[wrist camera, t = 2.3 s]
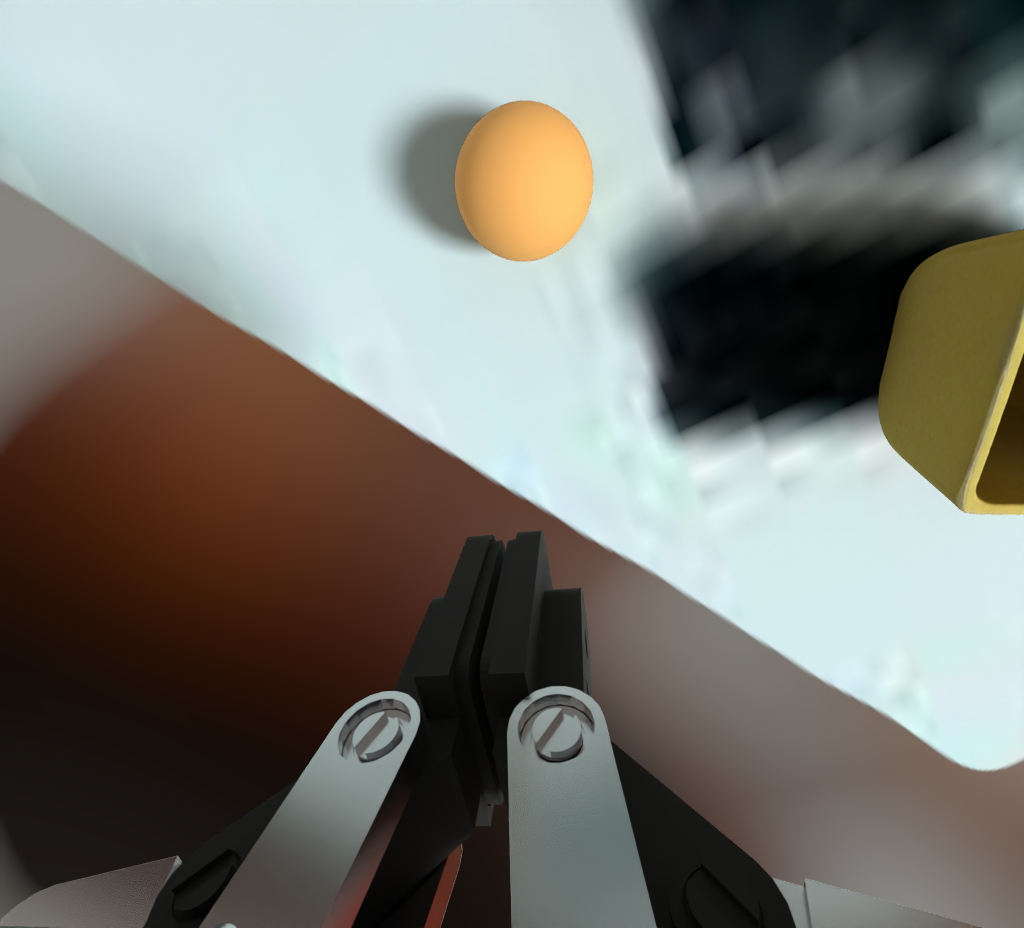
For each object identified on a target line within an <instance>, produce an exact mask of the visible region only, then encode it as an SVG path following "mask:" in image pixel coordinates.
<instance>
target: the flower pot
mask: <svg viewBox="0 0 1024 928" xmlns="http://www.w3.org/2000/svg"><path fill="white" fill-rule="evenodd" d="M878 411H879V419H880V424H881V427H882V430H883V433H884V435H885V437H886V439H887V440H888V442H889V443H890V445H891V446H892V448H893V449H894V450H895V451H896V452H897V453H898V454H899V455H900V456H901V457H902V458H903V459H904V460H905V461H906V462H908V463H909V464H910V465H911V466H912V467H913V468H914V469H915V470H916V471H918V472H919V473H920V474H921V475H922V476H923V477H924V478H926V479H927V480H928V481H929V482H930V483H931V484H932V485H933V486H935V487H936V488H937V489H938V490H939V491H940V492H941V493H942V494H944V495H945V496H946V497H947V498H948V499H949V500H950V501H952V502H953V503H954V504H955V505H956V506H957V507H958V508H959V509H960V510H961V511H963V512H965V513H971V514H992V515H1022V514H1023V515H1024V229H1023V230H1019V231H1014V232H1009V233H1005V234H1000V235H996V236H992V237H987V238H983V239H978V240H974V241H970V242H965V243H962V244H958V245H955V246H952V247H949V248H947V249H944V250H942V251H940V252H938V253H936V254H934V255H932V256H931V257H929V258H928V259H926V260H925V261H924V262H923V263H921V264H920V265H919V266H918V267H917V268H916V269H915V270H914V272H913V273H912V274H911V276H910V277H909V279H908V281H907V283H906V285H905V287H904V289H903V291H902V292H901V295H900V299H899V304H898V308H897V313H896V317H895V321H894V326H893V331H892V336H891V340H890V344H889V348H888V352H887V357H886V361H885V365H884V369H883V374H882V377H881V381H880V387H879V400H878Z"/></svg>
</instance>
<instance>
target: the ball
mask: <svg viewBox="0 0 1024 928" xmlns="http://www.w3.org/2000/svg"><path fill="white" fill-rule="evenodd" d="M455 192H456V199H457V203H458V207H459V211H460V213H461V216H462V219H463V221H464V223H465V225H466V227H467V228H468V230H469V231H470V233H471V234H472V235H473V237H474V238H475V239H476V240H477V241H478V242H479V243H480V244H481V245H482V246H483V247H484V248H486V249H487V250H489V251H490V252H492V253H493V254H495V255H498V256H500V257H502V258H505V259H508V260H513V261H534V260H538V259H542V258H544V257H547V256H549V255H551V254H553V253H555V252H556V251H558V250H559V249H561V248H562V247H563V246H565V245H566V244H567V243H568V242H569V241H570V240H571V239H572V238H573V236H574V235H575V234H576V233H577V231H578V230H579V228H580V226H581V225H582V223H583V221H584V219H585V217H586V215H587V212H588V209H589V206H590V203H591V198H592V192H593V170H592V163H591V158H590V155H589V151H588V148H587V146H586V144H585V141H584V139H583V137H582V136H581V134H580V132H579V131H578V129H577V128H576V127H575V125H574V124H573V123H572V122H571V121H570V120H569V119H568V118H567V117H566V116H565V115H563V114H562V113H561V112H559V111H558V110H556V109H554V108H552V107H550V106H548V105H545V104H542V103H539V102H534V101H516V102H510V103H507V104H504V105H501V106H499V107H497V108H495V109H493V110H492V111H490V112H489V113H488V114H486V115H485V116H484V117H483V118H482V119H480V120H479V121H478V122H477V123H476V125H475V126H474V127H473V128H472V130H471V131H470V133H469V134H468V136H467V137H466V139H465V141H464V143H463V145H462V148H461V150H460V153H459V156H458V160H457V165H456V172H455Z"/></svg>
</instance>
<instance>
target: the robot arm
mask: <svg viewBox="0 0 1024 928" xmlns="http://www.w3.org/2000/svg"><path fill="white" fill-rule="evenodd" d="M503 800H505V804H506V808H507V812H508V816H509V830H510V871H511V912H512V928H982V927H978V926H975V925H971V924H968V923H964V922H960V921H957V920H953V919H949V918H946V917H942V916H939V915H935V914H932V913H928V912H924V911H921V910H917V909H914V908H910V907H906V906H903V905H899V904H896V903H892V902H889V901H885V900H881V899H878V898H874V897H871V896H867V895H863V894H860V893H856V892H853V891H848V890H845V889H842V888H838V887H834V886H831V885H827V884H824V883H820V882H817V881H812V880H809V879H804V887H803V886H799V885H796V884H792V883H789V882H785V881H782V880H778V879H775V878H771V877H770V876H769V875H768V873H767V872H766V871H765V870H764V869H763V868H762V867H761V866H760V865H759V864H758V863H757V862H756V861H755V860H754V859H753V858H751V857H750V856H749V855H748V854H746V853H745V852H744V851H743V850H742V849H740V848H739V847H738V846H737V845H736V844H734V843H733V842H732V841H731V840H730V839H728V838H727V837H726V836H725V835H724V834H722V833H721V832H720V831H719V830H718V829H716V828H715V827H714V826H713V825H711V824H710V823H709V822H708V821H707V820H705V819H704V818H703V817H702V816H701V815H700V814H698V813H697V812H696V811H695V810H694V809H692V808H691V807H690V806H689V805H688V804H686V803H685V802H684V801H683V800H682V799H680V798H679V797H678V796H677V795H676V794H674V793H673V792H672V791H671V790H670V789H668V788H667V787H666V786H665V785H664V784H662V783H661V782H660V781H659V780H658V779H656V778H655V777H654V776H653V775H651V774H650V773H649V772H648V771H647V770H645V769H644V768H643V767H642V766H641V765H639V764H638V763H637V762H636V761H635V760H633V759H632V758H631V757H630V756H629V755H627V754H626V753H625V752H624V751H622V750H621V749H620V748H619V747H618V746H617V745H615V744H614V743H613V742H612V741H611V740H610V738H609V734H608V730H607V726H606V721H605V718H604V716H603V713H602V711H601V709H600V707H599V705H598V704H597V703H596V702H595V701H594V700H593V699H592V694H591V673H590V653H589V641H588V630H587V622H586V614H585V606H584V598H583V592H582V588H573V589H559V590H558V589H557V590H553V588H552V581H551V576H550V569H549V563H548V557H547V552H546V545H545V539H544V534H543V531H531V532H519V533H517V536H516V539H514V540H509V541H508V544H507V548H506V552H505V547H504V544H503V541H502V540H501V541H495V538H494V536H493V535H484V536H473V537H468V538H467V540H466V542H465V545H464V547H463V550H462V553H461V555H460V558H459V560H458V563H457V566H456V568H455V571H454V573H453V576H452V579H451V581H450V584H449V586H448V589H447V591H446V594H445V596H444V597H436V598H434V599H433V600H432V602H431V603H430V605H429V608H428V610H427V613H426V615H425V617H424V620H423V622H422V624H421V627H420V629H419V632H418V634H417V636H416V639H415V641H414V644H413V646H412V648H411V650H410V653H409V655H408V658H407V660H406V662H405V665H404V667H403V670H402V672H401V674H400V677H399V679H398V681H397V684H396V686H395V688H394V691H387V692H381V693H378V694H374V695H371V696H369V697H367V698H365V699H363V700H361V701H360V702H358V703H356V704H355V705H354V706H352V707H351V708H350V709H349V710H348V711H346V712H345V713H344V715H343V716H342V717H341V718H340V719H339V721H338V722H337V723H336V724H335V726H334V727H333V729H332V730H331V732H330V733H329V735H328V736H327V738H326V739H325V741H324V742H323V744H322V745H321V747H320V748H319V750H318V751H317V753H316V754H315V756H314V757H313V759H312V760H311V761H310V763H309V764H308V766H307V768H306V769H305V770H304V772H303V773H302V775H301V777H300V778H299V779H297V780H296V781H294V782H293V783H292V784H290V785H289V786H287V787H286V788H284V789H283V790H281V791H280V792H279V793H277V794H276V795H274V796H273V797H271V798H270V799H268V800H267V801H265V802H264V803H263V804H261V805H260V806H258V807H257V808H255V809H254V810H253V811H251V812H250V813H248V814H247V815H245V816H244V817H242V818H241V819H239V820H238V821H236V822H235V823H233V824H232V825H231V826H229V827H228V828H226V829H225V830H223V831H222V832H220V833H219V834H218V835H216V836H215V837H213V838H212V839H210V840H209V841H207V842H206V843H205V844H203V845H202V846H201V847H199V848H198V849H197V850H196V851H195V852H193V853H192V854H191V855H190V856H188V857H187V858H186V859H185V860H184V861H183V862H181V860H180V859H179V857H178V856H175V857H171V858H166V859H162V860H158V861H154V862H150V863H146V864H141V865H137V866H133V867H129V868H125V869H121V870H116V871H112V872H108V873H104V874H100V875H96V876H92V877H87V878H84V879H79V880H75V881H71V882H67V883H62V884H59V885H55V886H52V887H50V888H47V889H45V890H42V891H40V892H37V893H35V894H34V895H32V896H31V897H29V898H28V899H26V900H25V901H24V902H22V903H20V904H19V905H17V906H16V907H14V908H13V909H12V910H11V911H10V912H9V913H8V914H6V915H5V916H4V917H3V918H2V919H1V920H0V928H440V926H441V923H442V920H443V917H444V914H445V910H446V907H447V904H448V901H449V898H450V895H451V891H452V888H453V885H454V882H455V879H456V875H457V872H458V869H459V866H460V860H461V855H462V843H463V842H464V841H465V840H466V839H467V838H468V837H469V836H470V835H471V834H472V833H473V832H474V830H475V826H490V825H491V818H492V812H493V805H494V804H502V803H503Z"/></svg>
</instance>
